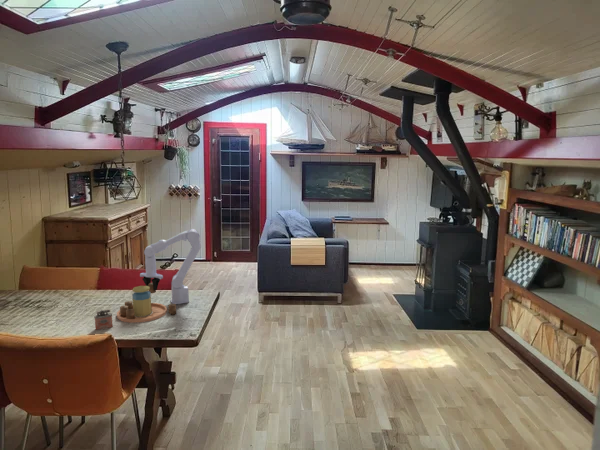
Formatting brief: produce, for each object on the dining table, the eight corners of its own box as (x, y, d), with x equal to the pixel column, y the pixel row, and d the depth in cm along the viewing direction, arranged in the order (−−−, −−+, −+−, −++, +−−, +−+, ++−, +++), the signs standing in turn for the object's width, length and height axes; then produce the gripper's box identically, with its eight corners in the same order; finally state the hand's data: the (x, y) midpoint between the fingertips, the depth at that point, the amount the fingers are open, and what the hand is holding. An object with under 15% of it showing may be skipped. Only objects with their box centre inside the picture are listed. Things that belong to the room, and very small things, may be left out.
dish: (163, 304, 250) (163, 300, 250) (170, 319, 228) (169, 315, 227) (116, 310, 240) (116, 306, 240) (118, 327, 217) (117, 322, 217)
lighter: (95, 332, 211) (93, 312, 209) (95, 329, 214) (93, 310, 212) (113, 329, 215) (112, 309, 213) (112, 326, 218) (111, 307, 216)
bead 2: (175, 311, 238) (175, 303, 237) (177, 314, 235) (176, 305, 234) (168, 313, 237) (167, 304, 236) (169, 315, 233) (168, 306, 232)
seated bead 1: (128, 314, 233) (127, 305, 232) (128, 316, 229) (128, 307, 228) (120, 315, 231) (119, 306, 230) (120, 317, 227) (120, 308, 227)
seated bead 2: (132, 309, 239) (132, 300, 239) (133, 311, 236) (132, 302, 235) (125, 310, 238) (124, 301, 237) (125, 312, 234) (124, 304, 233)
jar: (150, 310, 240) (149, 284, 238) (152, 316, 232) (151, 289, 229) (132, 313, 236) (131, 286, 234) (134, 319, 228) (132, 291, 225)
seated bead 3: (134, 317, 228) (133, 308, 227) (135, 320, 224) (134, 310, 224) (126, 318, 226) (125, 309, 226) (126, 321, 223) (126, 311, 222)
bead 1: (155, 290, 253) (155, 282, 252) (156, 292, 249) (155, 284, 248) (148, 291, 251) (147, 283, 250) (148, 293, 247) (148, 285, 246)
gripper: (135, 267, 246) (137, 290, 248) (156, 269, 241) (158, 293, 244) (144, 264, 253) (145, 286, 255) (164, 266, 248) (165, 289, 250)
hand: (152, 289), depth 250 cm, fingers closed on bead 1, 4 cm apart
